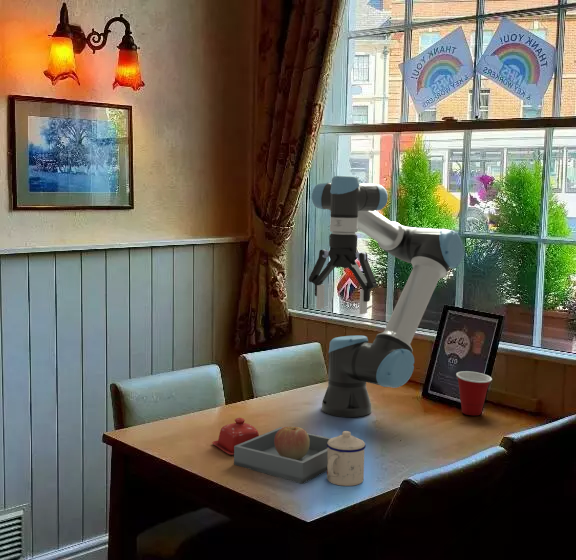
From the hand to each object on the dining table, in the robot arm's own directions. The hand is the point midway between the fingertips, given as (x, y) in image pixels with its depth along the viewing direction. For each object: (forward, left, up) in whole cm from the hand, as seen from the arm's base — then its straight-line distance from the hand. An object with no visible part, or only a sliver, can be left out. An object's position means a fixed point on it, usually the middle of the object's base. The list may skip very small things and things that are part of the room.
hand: (341, 310), depth 223 cm
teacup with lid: (+20, -31, -35) cm, 51 cm away
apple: (+3, -28, -34) cm, 44 cm away
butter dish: (-14, -27, -35) cm, 46 cm away
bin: (+3, -28, -35) cm, 45 cm away
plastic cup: (+22, +44, -35) cm, 60 cm away
